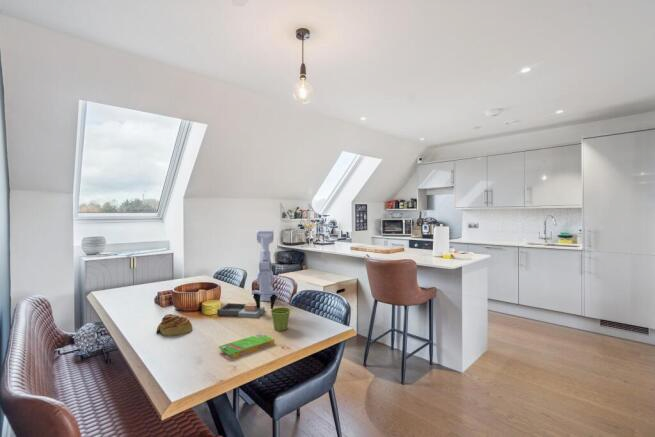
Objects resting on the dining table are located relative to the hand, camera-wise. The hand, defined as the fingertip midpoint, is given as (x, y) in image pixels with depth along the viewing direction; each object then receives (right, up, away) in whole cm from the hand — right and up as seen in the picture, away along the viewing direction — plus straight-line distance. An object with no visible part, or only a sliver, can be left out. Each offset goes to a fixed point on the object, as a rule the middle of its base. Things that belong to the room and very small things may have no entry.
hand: (265, 308), depth 171 cm
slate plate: (-7, -3, 0) cm, 8 cm away
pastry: (-37, -4, -24) cm, 45 cm away
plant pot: (+12, -4, -22) cm, 25 cm away
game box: (+1, -5, -42) cm, 43 cm away
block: (-8, -1, +1) cm, 8 cm away
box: (-18, -3, +1) cm, 18 cm away
